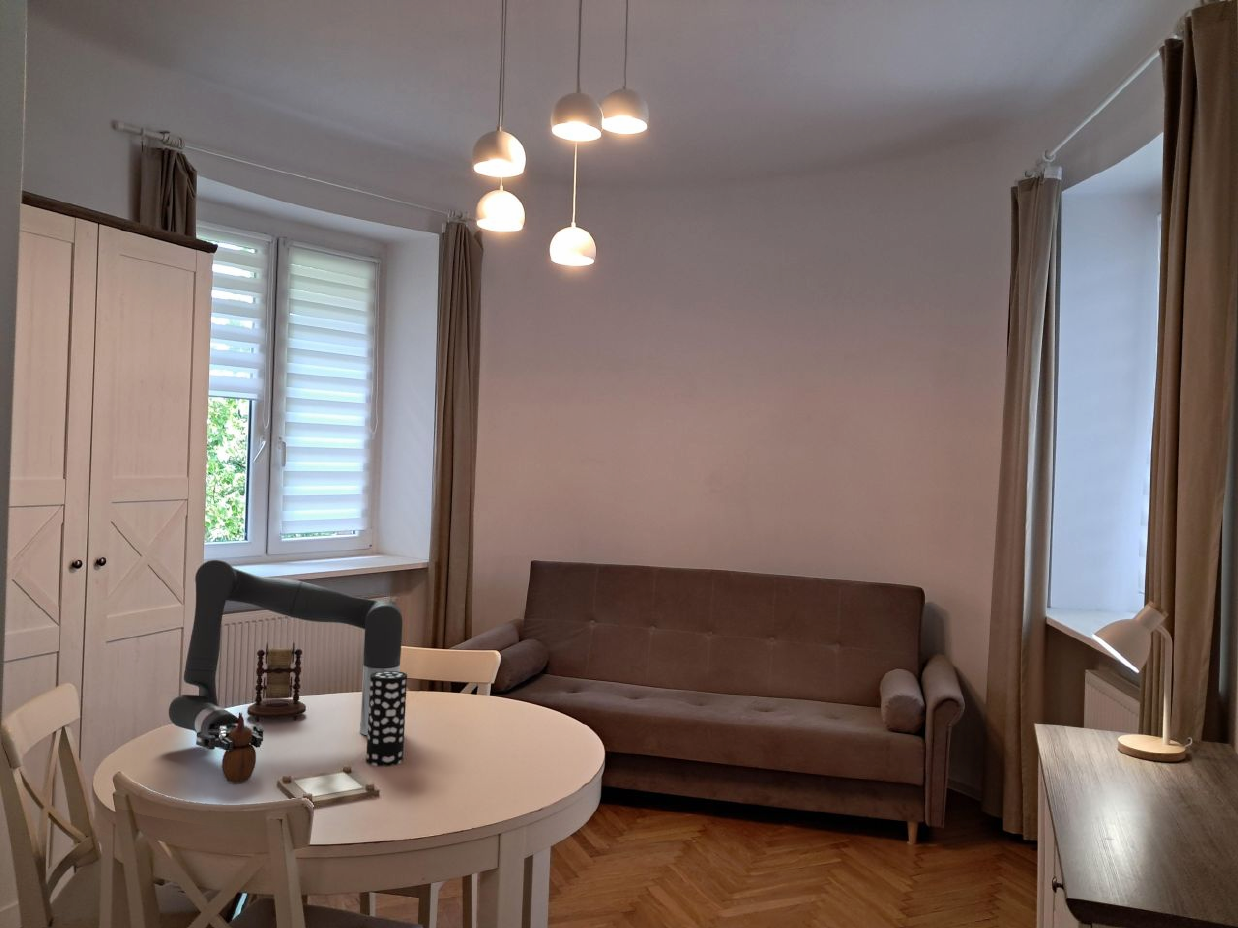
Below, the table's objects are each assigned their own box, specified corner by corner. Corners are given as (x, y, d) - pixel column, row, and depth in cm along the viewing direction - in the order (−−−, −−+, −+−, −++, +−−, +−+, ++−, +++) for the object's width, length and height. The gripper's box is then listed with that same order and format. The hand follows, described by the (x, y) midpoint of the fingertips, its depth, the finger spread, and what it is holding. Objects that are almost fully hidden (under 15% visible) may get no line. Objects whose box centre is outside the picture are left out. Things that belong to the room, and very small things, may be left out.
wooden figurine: (240, 787, 189) (244, 715, 189) (216, 784, 190) (219, 712, 190) (259, 776, 196) (263, 707, 196) (236, 773, 197) (239, 704, 197)
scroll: (304, 708, 253) (308, 637, 253) (306, 722, 239) (309, 646, 240) (248, 710, 248) (251, 637, 248) (245, 725, 234) (249, 648, 234)
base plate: (350, 773, 201) (351, 763, 201) (379, 795, 188) (379, 784, 188) (277, 785, 191) (277, 775, 191) (301, 809, 178) (302, 798, 178)
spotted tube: (409, 758, 213) (414, 673, 214) (389, 768, 205) (394, 680, 206) (379, 753, 216) (383, 669, 216) (358, 762, 208) (363, 675, 208)
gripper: (184, 713, 199) (210, 732, 186) (250, 705, 209) (279, 722, 196) (182, 748, 199) (208, 768, 186) (248, 737, 208) (277, 756, 196)
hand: (245, 744), depth 191 cm, fingers closed on wooden figurine, 5 cm apart
